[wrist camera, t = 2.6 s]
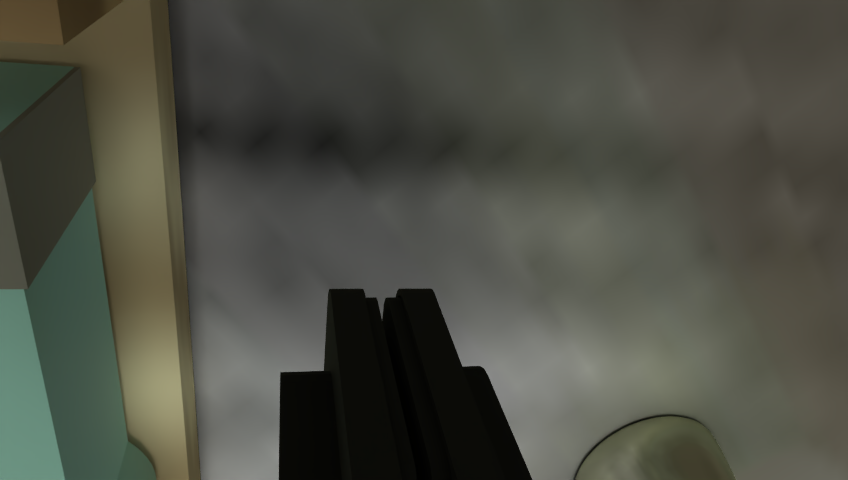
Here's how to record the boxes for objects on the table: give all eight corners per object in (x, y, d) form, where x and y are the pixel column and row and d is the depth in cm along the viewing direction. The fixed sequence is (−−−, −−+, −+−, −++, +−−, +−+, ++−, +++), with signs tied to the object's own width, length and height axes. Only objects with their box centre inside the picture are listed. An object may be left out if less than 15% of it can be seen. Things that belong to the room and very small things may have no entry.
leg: (-160, 50, 11) (-398, 142, 7) (108, 69, 12) (24, 158, 8) (-4, 543, 18) (-86, 731, 14) (162, 529, 19) (129, 702, 15)
